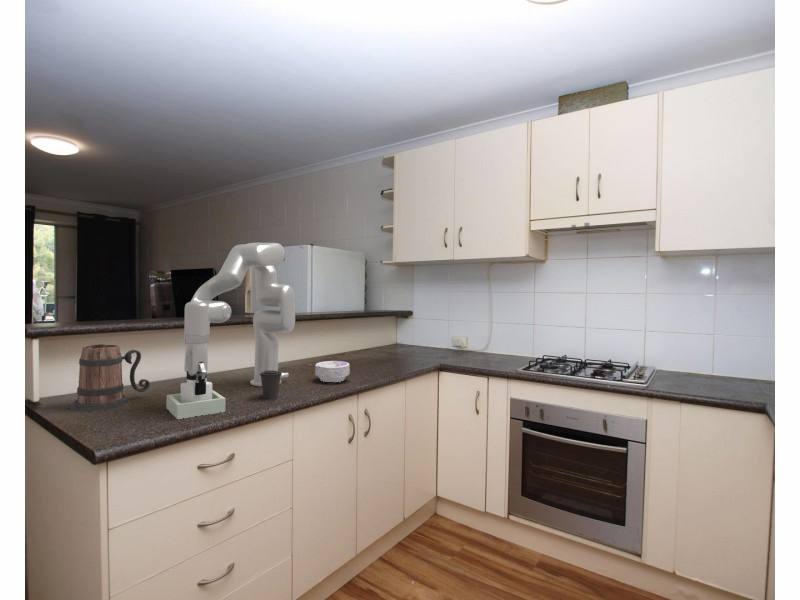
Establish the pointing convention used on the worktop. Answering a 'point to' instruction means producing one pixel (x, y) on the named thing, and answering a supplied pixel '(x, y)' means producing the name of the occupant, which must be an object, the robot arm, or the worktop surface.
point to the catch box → (195, 406)
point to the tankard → (104, 378)
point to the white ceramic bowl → (332, 371)
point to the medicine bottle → (189, 390)
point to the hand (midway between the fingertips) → (196, 391)
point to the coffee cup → (270, 384)
